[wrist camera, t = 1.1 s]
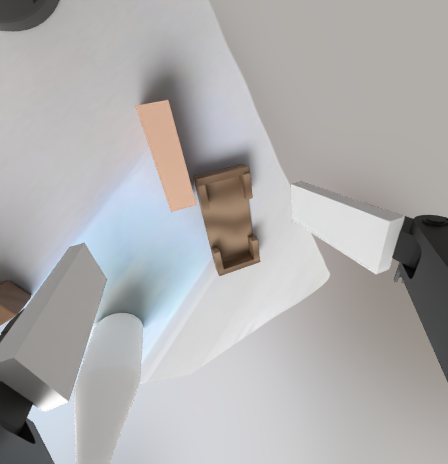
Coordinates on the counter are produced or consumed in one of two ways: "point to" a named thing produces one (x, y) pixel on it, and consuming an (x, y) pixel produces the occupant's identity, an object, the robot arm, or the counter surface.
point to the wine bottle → (107, 386)
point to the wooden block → (11, 301)
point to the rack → (228, 217)
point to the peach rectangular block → (167, 153)
